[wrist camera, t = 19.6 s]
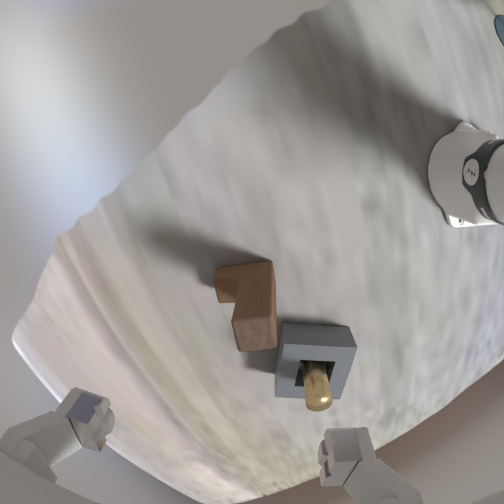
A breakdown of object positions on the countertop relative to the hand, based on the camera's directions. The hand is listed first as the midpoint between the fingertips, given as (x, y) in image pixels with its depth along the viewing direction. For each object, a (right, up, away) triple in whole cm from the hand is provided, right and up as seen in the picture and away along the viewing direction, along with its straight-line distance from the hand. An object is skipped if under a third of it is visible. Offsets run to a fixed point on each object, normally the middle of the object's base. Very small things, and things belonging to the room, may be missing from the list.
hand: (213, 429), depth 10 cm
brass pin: (+12, -13, +43) cm, 46 cm away
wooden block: (+1, +3, +41) cm, 41 cm away
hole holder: (+12, -12, +44) cm, 47 cm away
